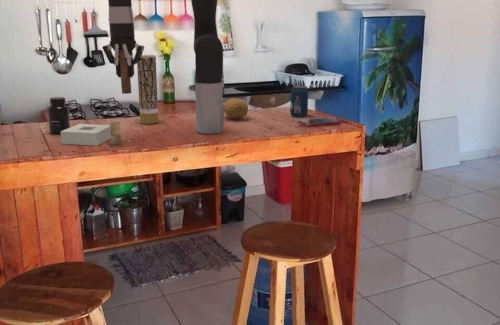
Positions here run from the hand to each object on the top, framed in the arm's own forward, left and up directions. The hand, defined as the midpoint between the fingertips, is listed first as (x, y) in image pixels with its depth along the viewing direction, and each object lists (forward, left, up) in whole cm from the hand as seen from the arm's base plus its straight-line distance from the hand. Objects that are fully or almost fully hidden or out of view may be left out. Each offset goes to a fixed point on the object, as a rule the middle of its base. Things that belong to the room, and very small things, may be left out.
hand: (125, 76), depth 169 cm
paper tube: (+2, -24, -20) cm, 31 cm away
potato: (-28, -39, -20) cm, 52 cm away
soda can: (-52, -49, -20) cm, 74 cm away
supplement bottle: (+26, -2, -20) cm, 33 cm away
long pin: (0, 0, -5) cm, 5 cm away
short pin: (0, +10, -20) cm, 22 cm away
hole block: (+11, +7, -20) cm, 24 cm away
